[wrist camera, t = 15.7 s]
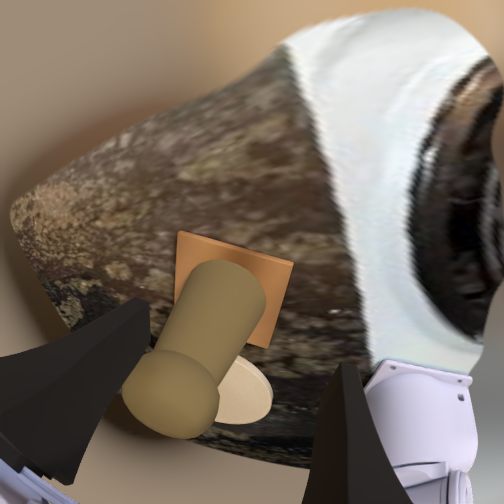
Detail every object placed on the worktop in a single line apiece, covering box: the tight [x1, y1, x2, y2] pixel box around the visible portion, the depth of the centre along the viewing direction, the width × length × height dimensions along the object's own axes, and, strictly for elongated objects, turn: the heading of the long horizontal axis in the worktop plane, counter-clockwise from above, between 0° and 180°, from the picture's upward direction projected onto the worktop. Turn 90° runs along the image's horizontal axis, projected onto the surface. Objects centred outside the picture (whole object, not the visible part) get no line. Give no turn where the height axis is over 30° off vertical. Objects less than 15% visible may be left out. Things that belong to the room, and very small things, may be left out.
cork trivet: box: [174, 230, 294, 349], centre depth 23 cm, size 8×8×1 cm
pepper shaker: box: [122, 260, 266, 438], centre depth 18 cm, size 6×6×11 cm
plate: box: [215, 355, 273, 424], centre depth 29 cm, size 12×12×1 cm
